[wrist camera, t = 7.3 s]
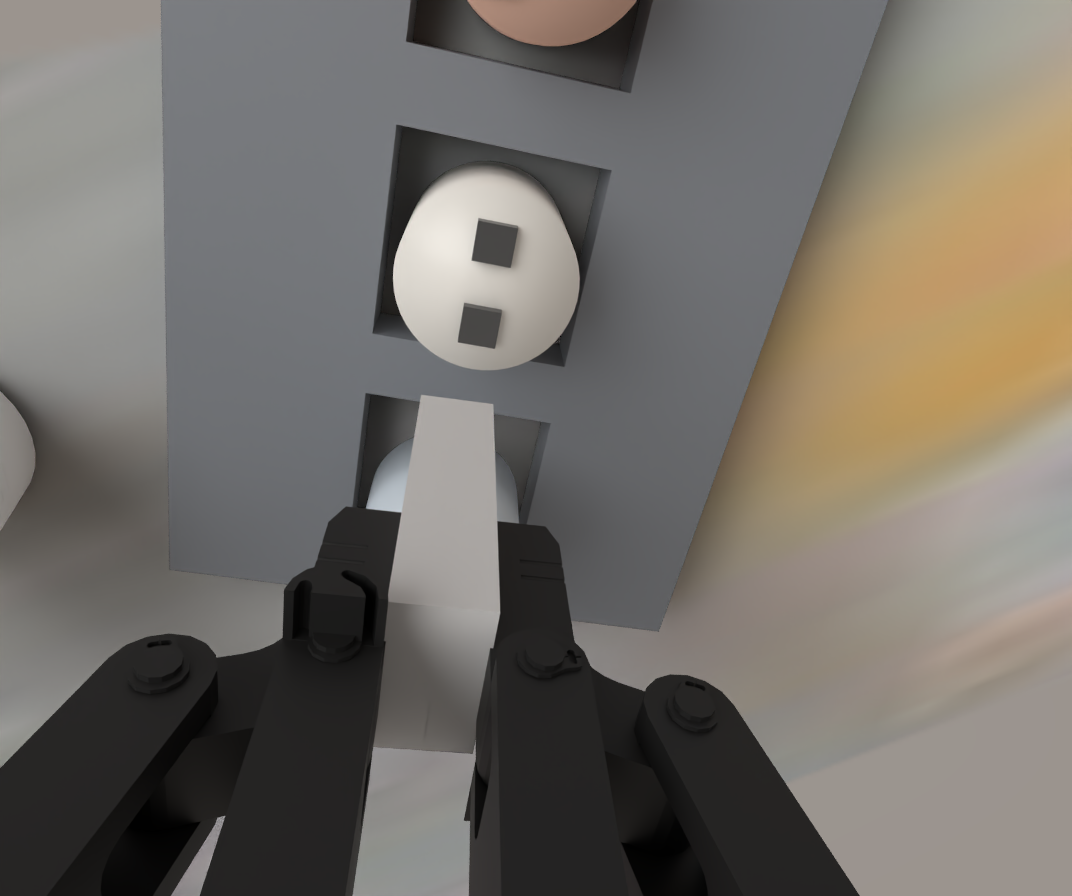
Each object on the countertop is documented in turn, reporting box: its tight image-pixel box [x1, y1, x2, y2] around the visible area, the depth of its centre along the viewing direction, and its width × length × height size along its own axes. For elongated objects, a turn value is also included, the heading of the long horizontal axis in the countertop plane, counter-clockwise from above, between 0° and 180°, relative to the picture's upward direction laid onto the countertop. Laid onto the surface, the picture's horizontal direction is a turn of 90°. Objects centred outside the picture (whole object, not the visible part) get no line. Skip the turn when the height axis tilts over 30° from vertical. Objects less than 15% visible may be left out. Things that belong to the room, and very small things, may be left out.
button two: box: [393, 161, 580, 370], centre depth 22 cm, size 5×5×5 cm
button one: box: [366, 438, 519, 523], centre depth 23 cm, size 5×5×5 cm
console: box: [161, 0, 888, 632], centre depth 23 cm, size 18×26×2 cm
